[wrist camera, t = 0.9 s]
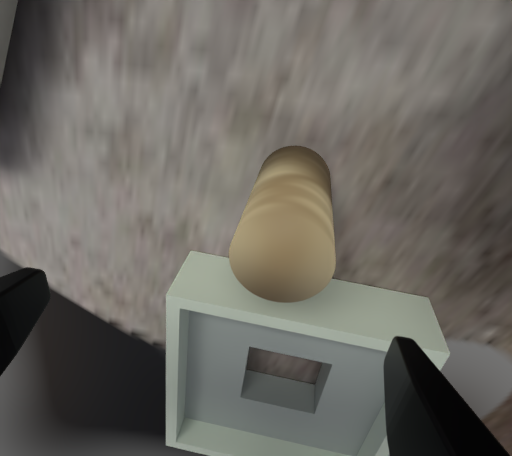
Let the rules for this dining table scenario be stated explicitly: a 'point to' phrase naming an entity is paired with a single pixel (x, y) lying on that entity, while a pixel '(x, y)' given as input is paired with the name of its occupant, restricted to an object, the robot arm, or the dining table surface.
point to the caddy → (290, 343)
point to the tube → (6, 29)
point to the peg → (287, 229)
